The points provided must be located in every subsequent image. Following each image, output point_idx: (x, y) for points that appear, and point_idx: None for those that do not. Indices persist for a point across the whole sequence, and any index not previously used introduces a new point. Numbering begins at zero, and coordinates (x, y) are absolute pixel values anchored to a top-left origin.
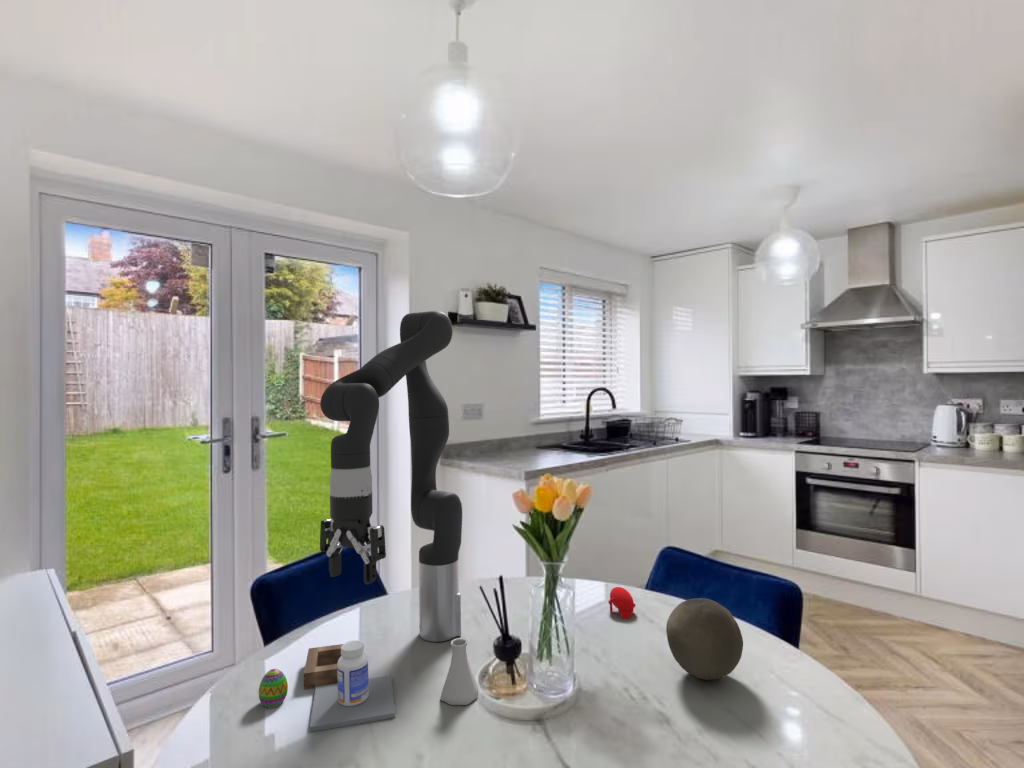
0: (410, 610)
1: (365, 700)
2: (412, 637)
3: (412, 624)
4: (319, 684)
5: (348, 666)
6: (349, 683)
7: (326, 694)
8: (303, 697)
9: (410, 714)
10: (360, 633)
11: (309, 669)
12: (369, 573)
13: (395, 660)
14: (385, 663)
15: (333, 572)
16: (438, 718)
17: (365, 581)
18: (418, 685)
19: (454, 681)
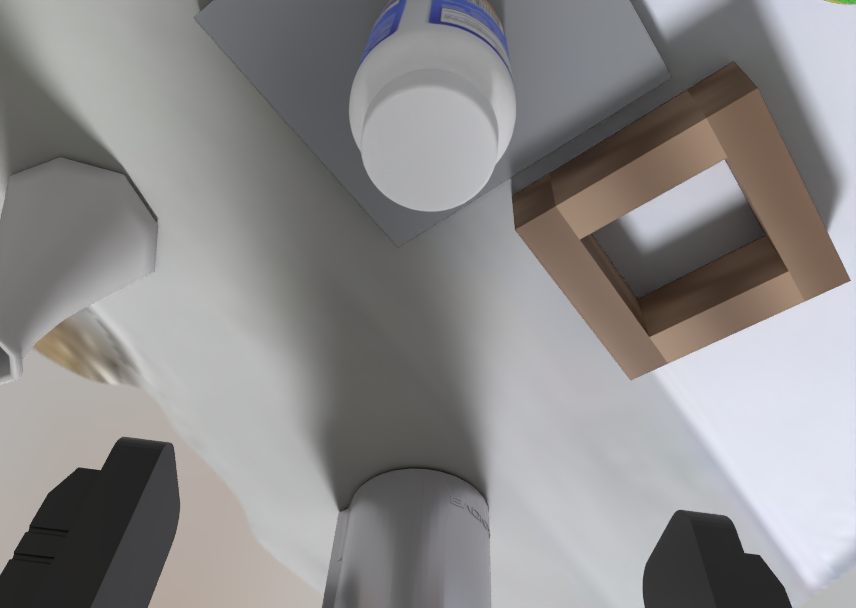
0: (606, 598)
1: None
2: (497, 476)
3: (547, 536)
4: (671, 106)
5: (400, 41)
6: (402, 14)
7: (582, 37)
8: (698, 4)
9: (160, 54)
10: (711, 458)
11: (746, 128)
12: (37, 555)
13: (466, 347)
14: (491, 322)
15: (691, 556)
16: (43, 68)
17: (128, 458)
18: (272, 234)
19: (30, 220)
